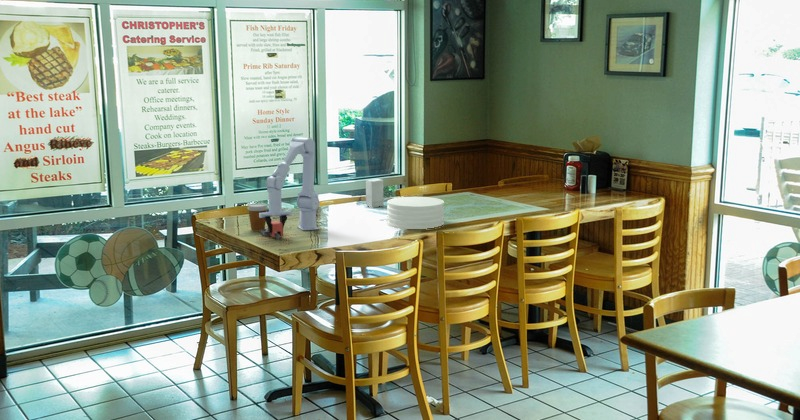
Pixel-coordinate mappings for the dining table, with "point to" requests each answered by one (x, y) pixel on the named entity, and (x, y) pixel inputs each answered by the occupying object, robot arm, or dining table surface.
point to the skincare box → (374, 193)
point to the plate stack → (415, 212)
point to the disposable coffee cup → (257, 216)
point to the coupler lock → (276, 228)
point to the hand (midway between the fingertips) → (275, 232)
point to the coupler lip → (266, 233)
